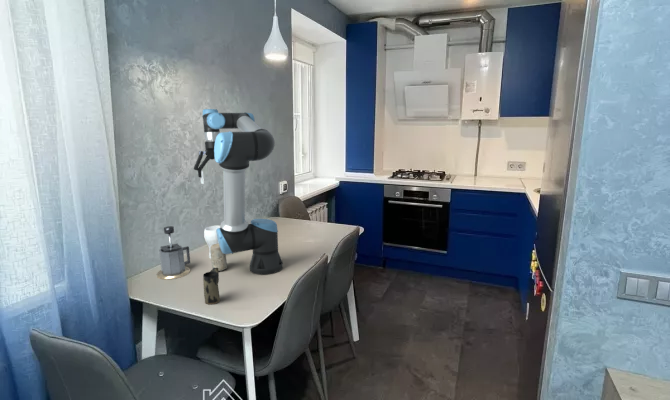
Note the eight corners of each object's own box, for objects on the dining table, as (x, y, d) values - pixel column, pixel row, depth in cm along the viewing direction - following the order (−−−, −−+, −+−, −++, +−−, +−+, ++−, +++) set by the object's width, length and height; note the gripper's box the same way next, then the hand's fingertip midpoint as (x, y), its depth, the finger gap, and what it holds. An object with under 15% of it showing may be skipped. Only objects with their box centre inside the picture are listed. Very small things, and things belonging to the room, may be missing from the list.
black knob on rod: (182, 268, 165) (178, 227, 161) (167, 271, 161) (162, 230, 157) (178, 264, 170) (174, 224, 166) (163, 267, 166) (159, 227, 162)
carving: (218, 265, 174) (216, 241, 171) (230, 268, 170) (228, 244, 168) (208, 270, 168) (206, 245, 166) (220, 273, 165) (218, 248, 162)
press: (195, 273, 165) (192, 247, 162) (160, 282, 156) (157, 254, 154) (186, 264, 176) (184, 240, 173) (153, 271, 168) (150, 246, 165)
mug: (215, 305, 136) (212, 275, 134) (201, 304, 137) (199, 274, 135) (225, 295, 144) (223, 267, 141) (212, 294, 145) (210, 266, 142)
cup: (221, 260, 180) (219, 231, 177) (201, 259, 182) (199, 230, 179) (231, 253, 191) (229, 225, 187) (212, 252, 193) (210, 224, 190)
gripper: (233, 139, 194) (236, 179, 198) (184, 141, 179) (188, 183, 184) (239, 140, 188) (241, 180, 192) (189, 141, 173) (193, 185, 178)
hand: (215, 182), depth 188 cm, fingers open, 13 cm apart
